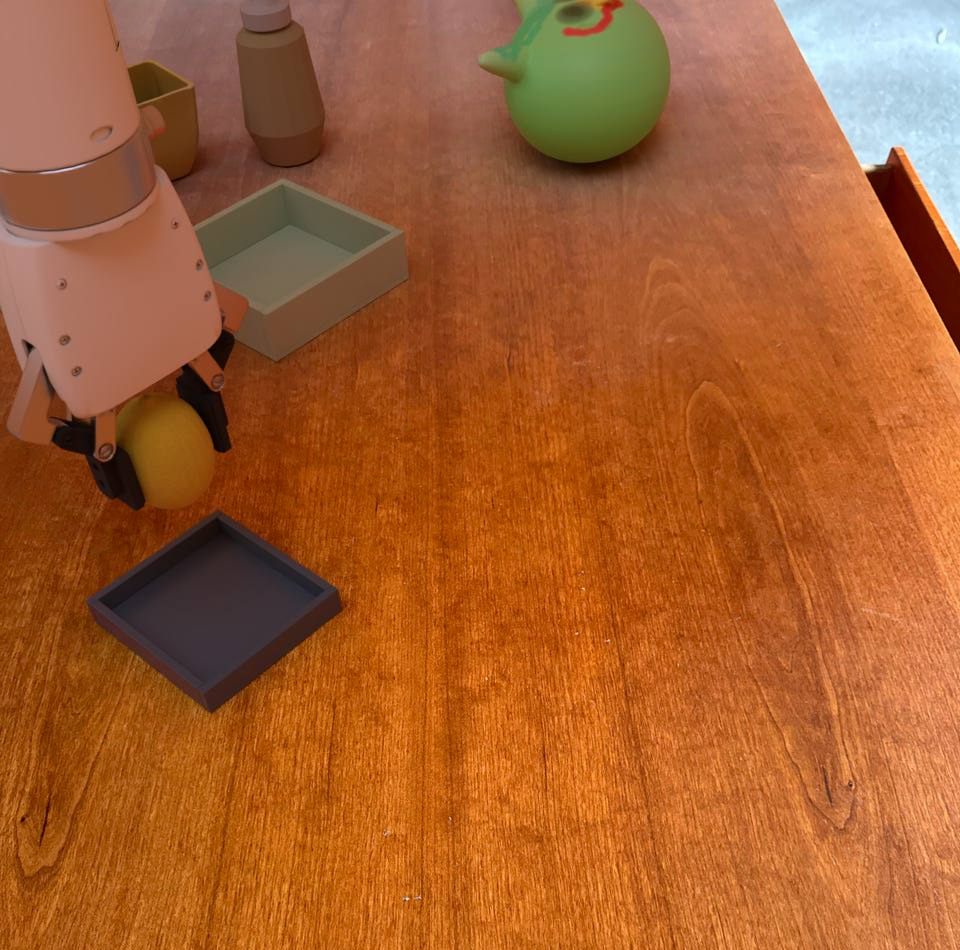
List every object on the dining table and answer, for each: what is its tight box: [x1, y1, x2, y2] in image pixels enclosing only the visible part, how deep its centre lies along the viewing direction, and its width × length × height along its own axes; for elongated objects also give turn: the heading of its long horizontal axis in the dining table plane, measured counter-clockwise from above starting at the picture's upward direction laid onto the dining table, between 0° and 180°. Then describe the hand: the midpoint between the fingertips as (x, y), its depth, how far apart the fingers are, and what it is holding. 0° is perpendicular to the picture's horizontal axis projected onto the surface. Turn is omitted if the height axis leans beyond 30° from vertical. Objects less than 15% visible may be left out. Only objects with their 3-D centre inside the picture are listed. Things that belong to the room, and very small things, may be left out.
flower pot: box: [126, 58, 200, 182], centre depth 115 cm, size 9×9×9 cm
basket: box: [192, 177, 410, 363], centre depth 102 cm, size 16×16×4 cm
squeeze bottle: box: [235, 0, 326, 167], centre depth 113 cm, size 8×8×18 cm
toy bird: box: [477, 0, 671, 164], centre depth 112 cm, size 18×17×15 cm
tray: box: [85, 508, 343, 714], centre depth 77 cm, size 12×11×2 cm
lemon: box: [116, 391, 216, 510], centre depth 67 cm, size 6×6×8 cm
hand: (168, 467), depth 68 cm, fingers closed on lemon, 5 cm apart
